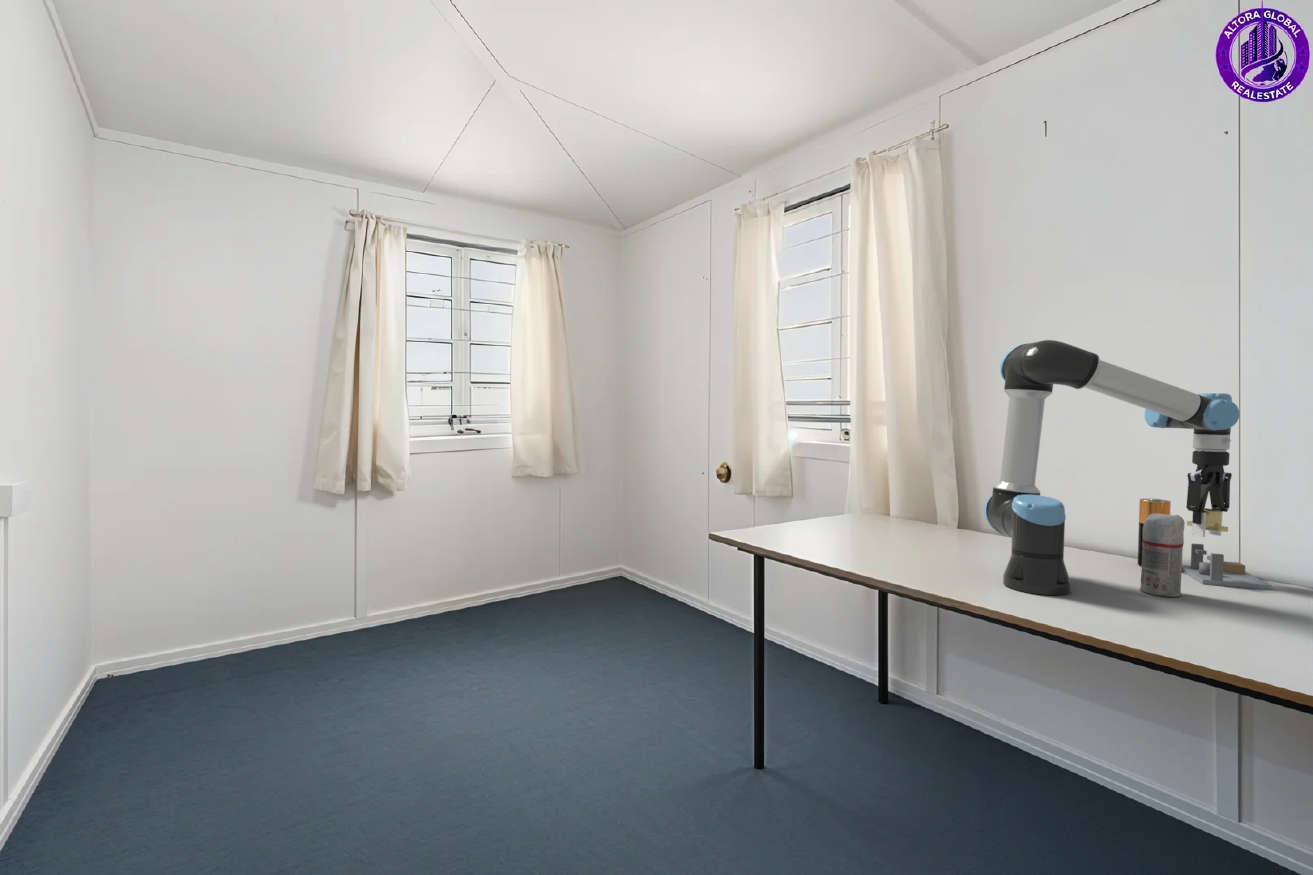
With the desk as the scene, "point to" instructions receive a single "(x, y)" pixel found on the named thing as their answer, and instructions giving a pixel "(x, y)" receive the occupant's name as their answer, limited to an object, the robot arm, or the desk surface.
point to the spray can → (1162, 555)
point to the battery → (1145, 510)
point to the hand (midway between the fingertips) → (1206, 535)
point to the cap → (1212, 520)
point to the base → (1220, 571)
